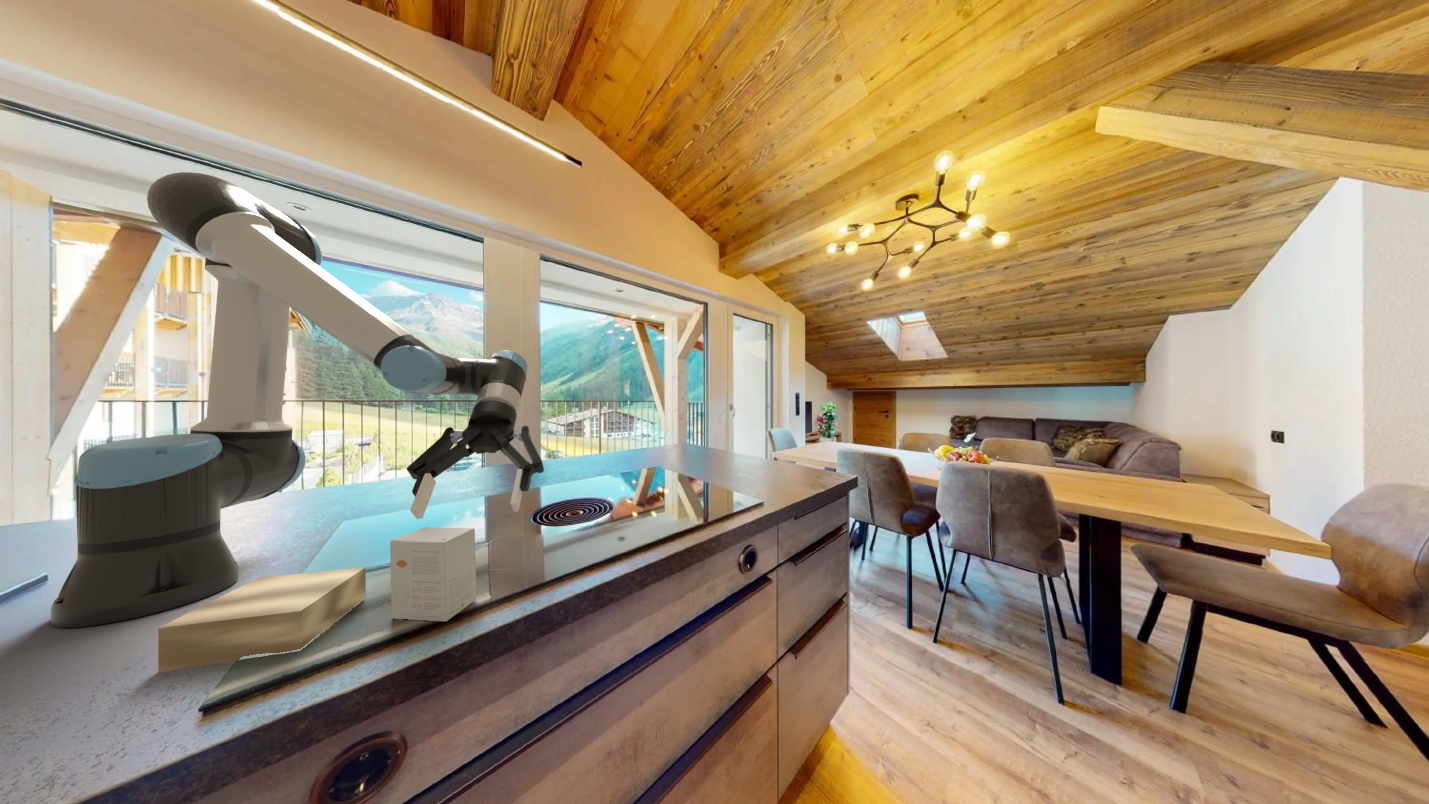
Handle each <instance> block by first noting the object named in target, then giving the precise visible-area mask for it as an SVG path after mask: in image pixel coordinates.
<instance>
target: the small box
mask: <svg viewBox="0 0 1429 804" xmlns="http://www.w3.org/2000/svg"><path fill="white" fill-rule="evenodd" d="M475 530H476V528H475V527H474V528H473V527H438V526H437V527H435V526H434V527H430V526H429V527H428V526H425V527H422V528H420V529H418V530H414V531H412V532H409V533H407V534H405V535H401V536H399V537H397V538H394V539H391V540H390V543H389V545H390V546H389V548H390V552H389V553H390V555H389V556H390V557H389V558H390V601H391V603H390V604H391V607H390V608H391V609H390V610H391V613H390V614H391V619H392V620H402V619H408V620H409V621H423V620H427V621H428V622H448V621H449V620H450V619H452V618H453V617H454V616H456V615H457V614H459V613H460V612H461V611H463V610H464V609H465V608H467V607H468V606H470V605H471V604H472V603H474V602H475V601H476V600H477V571H476V570H477V569H476V568H477V567H476V566H477V565H476V563H477V562H476V531H475ZM393 618H395V619H393ZM427 621H426V622H427Z"/></svg>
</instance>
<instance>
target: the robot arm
mask: <svg viewBox="0 0 1429 804" xmlns="http://www.w3.org/2000/svg"><path fill="white" fill-rule="evenodd" d="M146 200H147V201H146V202H147V205H148V206H147V207H148V210H149V211H150V213H151V216H152V217H153V219H154V220H155V221H156V222H157V224H158V225H160V226H161V228H163V229H164V230H165V231H167V233H169V234H170V235H172V236H174V238H176V239H178V240H179V241H180V242H183V243H184V244H185V245H187V246H188V247H190V248H191V249H193V250H194V251H196V252H197V253H198V254H200V255H201V256H203V257H204V259H205V262H204V270H206V272H208V273H209V274H210V275H211V276H212V277H214V278H215V279H216V280H217V292H216V304H215V305H216V307H215V317H214V328H213V337H212V338H213V340H212V341H213V342H212V351H211V352H212V353H211V363H210V373H209V383H208V384H209V385H208V387H209V388H208V398H207V408H206V417H205V418H204V419H203V420H201V421H200V422H198V423H196V424H194V425H192V426H191V427H190V432H189V433H179V434H177V433H176V434H166V435H165V434H164V435H163V434H162V435H155V436H150V437H147V436H145V437H143V436H142V437H137V438H135V437H134V438H129V439H128V438H127V439H123V440H116V441H110V442H107V443H101V444H97V445H95V446H91V447H90V448H88V449H86V450H85V451H83V453H81V455H80V456H79V458H78V466H77V472H76V473H75V477H74V484H75V487H76V488H75V489H76V490H75V492H76V494H75V495H76V497H75V498H76V499H75V501H76V535H77V536H76V537H77V539H76V540H77V541H76V542H77V558H76V561H75V564H73V566H72V568H71V570H70V572H69V574H68V576H67V577H66V579H65V581H64V582H63V585H62V586H61V589H60V591H59V593H58V596H57V597H56V599H55V600H53V603H52V605H51V607H50V625H52V626H53V627H55V628H56V627H57V628H80V627H81V628H83V627H90V626H97V625H98V626H99V625H104V624H111V623H115V622H121V621H126V620H130V619H135V618H139V617H143V616H148V615H152V614H156V613H159V612H160V613H161V612H163V611H166V610H170V609H173V608H177V607H181V606H183V605H187V604H190V603H193V602H196V601H198V600H202V599H204V598H207V597H209V596H212V595H214V594H216V593H219V592H221V591H223V590H226V589H227V588H229V587H231V586H233V585H234V584H235V583H236V582H238V580H239V563H238V562H237V561H236V560H235V558H234V556H233V554H232V552H231V550H230V549H229V547H228V545H227V543H226V541H225V539H224V537H223V536H222V533H221V510H222V509H225V508H229V507H232V506H235V505H239V504H243V503H247V502H253V501H257V500H261V499H265V498H268V497H269V496H272V495H274V494H276V493H279V492H282V491H283V490H286V489H287V488H288V487H290V486H291V485H293V483H295V482H296V481H297V480H299V477H300V476H301V475H302V474H303V471H304V470H305V466H306V453H305V450H304V449H303V447H302V446H300V445H299V444H298V442H297V441H296V440H295V439H293V430H294V429H293V427H292V426H291V425H290V424H289V423H287V422H286V421H284V420H283V417H282V416H283V404H284V393H285V382H286V381H285V380H286V370H287V369H286V368H287V356H288V355H287V354H288V347H289V345H288V344H289V335H290V334H289V331H290V323H291V310H293V311H295V312H296V313H298V314H299V315H301V316H302V317H303V318H305V319H306V320H308V321H310V322H311V323H312V324H314V325H315V326H317V327H318V328H320V329H321V330H322V331H323V332H325V333H327V334H328V335H330V336H331V337H332V338H334V339H335V340H337V341H338V342H340V343H341V344H342V345H344V346H345V347H346V348H348V349H350V350H351V351H353V352H354V353H355V354H357V355H358V356H360V357H361V358H362V359H364V360H365V361H367V362H368V363H370V364H371V365H372V366H373V367H375V368H377V369H378V370H379V371H381V374H382V377H383V379H384V380H385V381H386V382H387V384H389V385H390V386H392V387H393V388H394V389H397V390H399V391H402V392H403V391H404V392H406V393H410V394H430V395H437V396H439V395H440V396H441V395H451V396H452V395H455V396H458V395H459V396H461V395H463V396H464V395H465V396H472V395H473V396H477V397H476V399H475V402H474V406H473V408H472V411H471V414H470V417H469V420H468V425H467V427H466V428H465V429H464V430H462V431H461V430H454V428H453V427H447V428H445V430H444V432H443V433H442V435H441V436H440V437H439V438H438V439H437V440H436V441H435V442H434V443H432V444H431V445H430V446H429V448H427V449H426V450H424V452H423V453H422V454H420V455H419V456H418V457H417V458H416V459H415V460H414V461H412V463H411V464H409V465H408V466H407V467H406V471H407V472H408V474H409V475H410V476H411V478H412V479H413V480H415V483H414V484H413V488H412V490H411V491H412V494H413V496H414V500H413V501H412V504H411V507H410V512H411V513H412V515H414V517H415V519H417V520H419V519H423V518H424V515H425V513H426V510H427V508H428V505H429V502H430V499H431V498H432V494H433V492H434V488H435V486H436V483H437V482H436V480H435V478H436V477H438V476H440V475H441V474H443V473H444V472H445V471H446V470H448V469H450V468H451V467H453V466H454V465H455V464H457V463H458V462H460V461H461V460H463V459H464V458H468V457H470V456H472V455H473V454H475V453H476V454H477V455H479V454H485V453H488V454H496V453H497V452H501V453H502V454H503V455H504V456H505V457H507V458H508V459H509V460H510V461H511V463H513V465H515V466H516V468H517V470H516V475H515V480H514V484H513V489H512V493H511V497H510V498H511V499H510V502H509V503H510V507H511V508H512V511H513V513H516V512H519V510H520V506H521V502H522V495H523V492H528V491H529V490H530V487H531V486H530V485H531V482H532V476H533V475H534V474H536V473H538V474H542V473H543V472H544V471H545V468H544V463H543V460H542V459H541V456H540V454H539V453H538V451H537V449H536V446H535V445H534V443H533V441H532V437H531V432H530V428H529V426H528V425H523V426H522V427H521V429H515V427H516V426H515V425H516V420H517V418H518V417H517V415H518V412H519V408H520V405H521V404H520V403H521V399H522V395H523V391H524V389H525V383H526V381H527V373H528V363H527V361H526V359H525V358H524V357H523V356H522V355H521V354H519V353H518V352H516V351H513V350H508V349H506V350H505V349H503V350H500V351H496V352H494V353H493V354H492V355H491V357H490V358H489V359H484V358H482V359H481V358H479V359H478V358H477V359H473V358H472V359H471V358H462V357H461V358H460V357H452V356H449V355H445V354H443V353H439V352H437V351H435V350H434V349H432V348H431V347H429V346H428V345H426V344H425V343H424V342H423V341H421V340H420V339H418V338H416V337H415V336H414V335H413V334H412V333H410V332H409V331H407V330H406V329H405V328H403V326H401V325H400V324H399V323H396V322H395V321H394V320H392V319H391V318H390V317H388V316H387V315H386V314H385V313H383V312H381V310H379V309H378V308H376V307H375V306H373V305H372V304H371V303H370V302H368V301H367V300H365V299H364V298H363V297H361V296H360V295H358V293H356V292H354V291H353V290H352V289H350V288H349V287H348V286H347V285H345V284H344V283H343V282H341V281H339V280H338V279H337V278H336V277H334V276H333V275H332V274H330V273H329V272H327V271H326V270H325V269H323V268H322V267H321V264H322V261H323V252H322V249H321V248H322V247H321V245H320V244H319V241H318V240H317V238H316V237H315V235H313V233H312V232H311V231H310V230H308V229H307V228H306V227H305V226H304V225H302V224H301V223H300V222H299V221H297V220H296V218H293V217H292V216H290V215H288V213H285V212H283V211H280V210H278V209H277V208H274V207H272V205H271V206H270V205H269V204H267V203H266V202H264V201H263V200H261V199H259V198H257V197H256V196H255V195H252V194H251V193H250V192H248V191H246V190H245V189H243V188H242V187H240V186H238V185H235V183H232V182H230V181H228V180H225V179H222V178H220V177H217V176H214V175H211V174H204V173H201V172H190V171H187V172H186V171H185V172H184V171H183V172H182V171H181V172H173V173H169V174H166V175H164V176H161V177H159V178H157V180H156V181H155V180H154V182H153V183H152V184H151V185H150V187H149V188H148V190H147V196H146ZM515 438H517V439H518V441H520V442H521V443H523V446H524V448H525V450H526V453H527V455H528V457H529V458H530V461H531V462H530V461H528V460H526V459H525V457H524V456H523V455H522V454H521V453H520V452H519V451H518V450H516V448H515V447H514V446H513V445H512V444H511V442H513V440H514V439H515ZM467 446H468V448H467Z"/></svg>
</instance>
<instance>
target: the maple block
mask: <svg viewBox="0 0 1429 804" xmlns="http://www.w3.org/2000/svg"><path fill="white" fill-rule="evenodd" d="M366 570H367V568H366V567H365V566H363V567H352V568H341V569H335V570H334V569H332V570H324V571H321V570H320V571H311V572H303V573H293V574H281V575H272V576H263V577H258V578H255V579H253V580H252V581H249V582H248V583H245V584H244V585H241V586H239V587H238V588H235V589H234V590H232V591H229V592H228V593H225V594H223V595H221V596H219V597H218V598H216V599H214V600H211V601H210V602H207V603H205V604H203V605H202V606H200V607H199V606H198V607H197V608H196V609H195V608H194V610H191V611H189V612H187V613H185V614H183V615H182V616H180V617H177V618H175V619H173V620H171V621H169V622H167V623H165V624H164V625H161V626H159V627H158V629H157V631H158V633H157V634H158V645H157V646H158V651H157V654H158V658H157V659H158V661H157V662H158V664H157V669H158V670H157V671H158V673H162V672H168V671H169V672H170V671H175V670H182V669H188V668H189V669H191V668H196V667H204V666H209V665H210V666H211V665H218V664H225V663H230V662H231V663H232V662H237V660H239V659H240V658H241V657H243V656H249V655H254V654H255V655H256V654H263V653H264V654H265V653H280V652H281V653H282V652H287V651H292V650H297V649H301V648H302V647H304V646H305V645H306V644H308V643H309V642H310V641H311V640H312V639H314V638H315V637H317V635H319V634H321V633H322V632H323V631H324V630H326V629H327V628H328V627H330V626H331V625H332V624H334V623H335V622H336V621H337V620H338V619H339V618H340V617H341V616H343V614H345V613H346V612H348V611H349V610H350V609H352V608H353V607H354V606H355V605H357V604H358V603H359V602H360V601H362V600H363V599H364V598H365V597H366V595H367V594H366V591H367V590H366V589H367V588H366V587H367V585H366V579H367V578H366V576H367V574H366V573H367V572H366ZM366 598H367V597H366ZM334 625H335V624H334ZM239 661H240V660H239Z"/></svg>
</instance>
